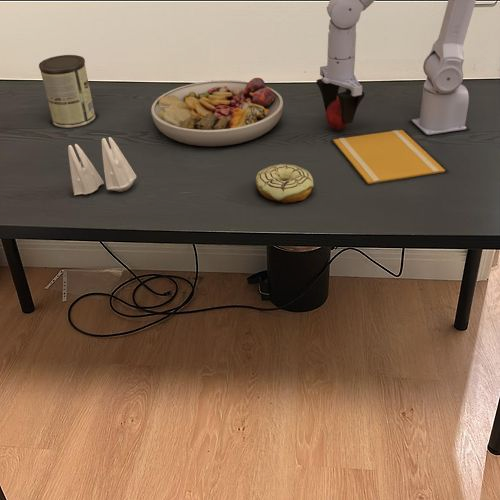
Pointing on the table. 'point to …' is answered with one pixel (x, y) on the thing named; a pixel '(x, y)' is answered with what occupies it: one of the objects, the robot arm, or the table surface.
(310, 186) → the decorated donut
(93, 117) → the coffee can
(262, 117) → the bowl
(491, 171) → the table surface
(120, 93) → the table surface
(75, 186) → the shaker set
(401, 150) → the towel
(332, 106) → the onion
